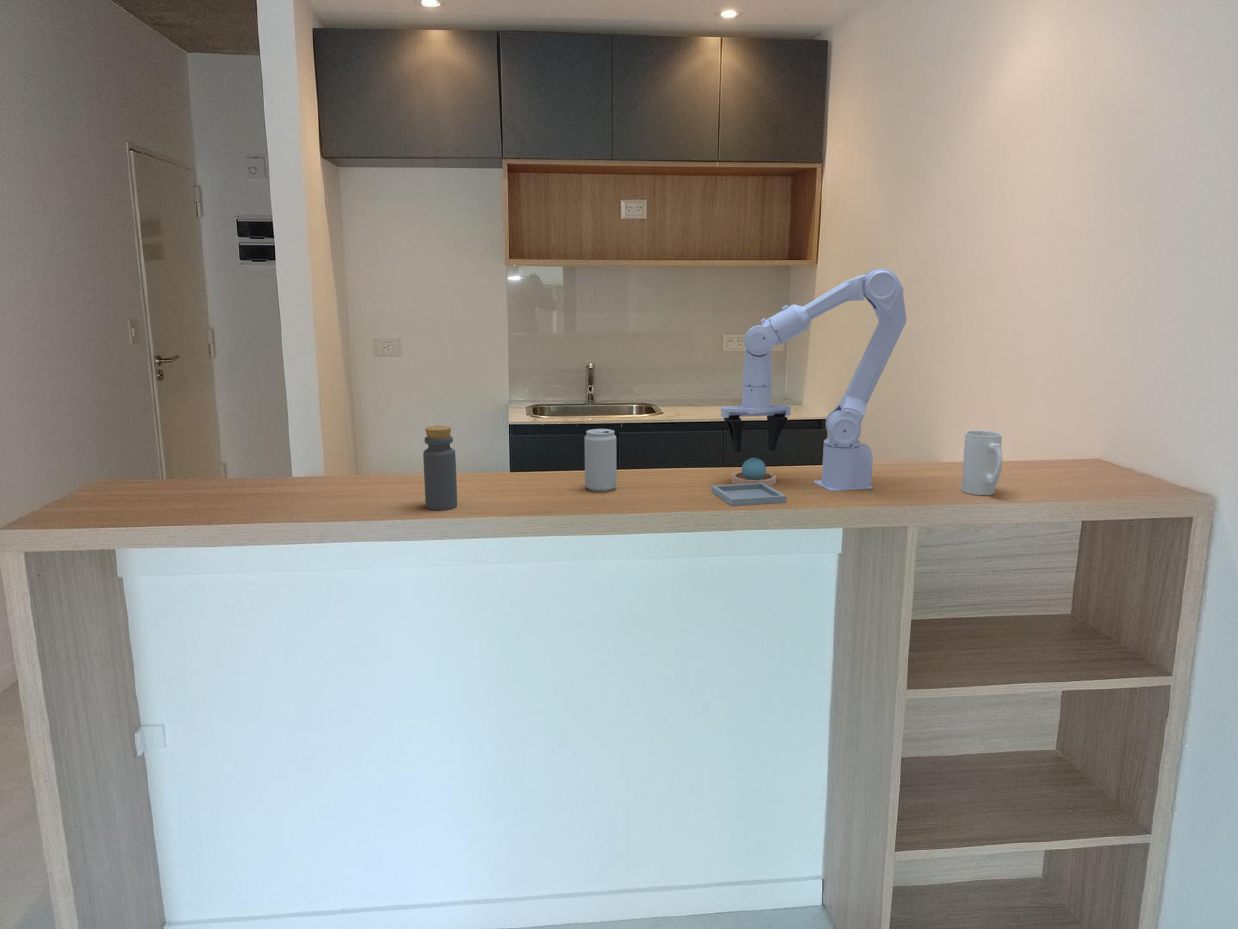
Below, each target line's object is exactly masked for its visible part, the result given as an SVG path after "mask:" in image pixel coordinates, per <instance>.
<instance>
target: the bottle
mask: <svg viewBox="0 0 1238 929" xmlns="http://www.w3.org/2000/svg"><path fill="white" fill-rule="evenodd" d="M424 429H425V430H424V431H425V434H426V437H424V444H426V445H427V448H426V449H424V450H423V457H422V458H423V460H422V461H423V479H424V480H423V481H424V494H425V495H424V498H425V507H426V509H427V510H431V511H432V510H433V511H446V510H452V509H454V508H457V507H458V489H457V488H458V486H457V458H456V449H454V448H452V447H451V444H452V443H453V442H454V438H453V436H452V435H451V432H452V427H451V426H449V425H431V426H426V427H425V428H424Z"/></svg>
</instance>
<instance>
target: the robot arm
mask: <svg viewBox="0 0 1238 929" xmlns="http://www.w3.org/2000/svg"><path fill="white" fill-rule="evenodd" d="M865 300H866V301H868V303H869V304H870V305H871V306H872V308H873V311H874V313H875V316H876V318H877V320H878V323H877V325H876V327H875V329H874V331H873V334H872V336H871V338H870V339H869V342H868V343H867V346H866V348H865V350H864V352H863V354H862V357H861V359H860V361H859V363H858V365H857V368H856V369H855V371H854V374H853V376H852V378H851V380H850V382H849V384H848V385H847V386H848V387H847V389H846V391H845V394H843V396H842V397H841V398H840V400H839V402H838V404H837V406H836V407H835V408H834V409H833V410H832V411H830V412H829V413H828V415H827V416H826V419H825V423H824V424H825V429H826V431H827V432H828V433H827V434H828V436H827V438H826V439H824V440H823V451H822V452H823V454H822V469H821V479H819V480H813V483H814V484H816V485H818V486H820V487H822V488H824V489H826V490H828V491H830V492H834V491H835V492H838V491H852V490H865V489H866V490H873V486H872V476H873V475H872V474H873V473H872V472H873V459H874V458H873V453H872V449H871V447H870V445H868V444H867V443H861V441H860V440H859V439H860V437H861V433H862V422H863V419H864V417H865V414H866V410H867V405H868V403H869V400H870V399H871V396H872V395H873V393H874V391H875V388H876V387H877V384H878V382H879V379H880V378H881V376H882V374H883V371H884V370H885V368H886V365H887V363H888V361H889V359H890V358H891V355H892V352H893V351H894V349H895V347H896V344H897V342H898V341H899V338H900V336H901V334H902V331H903V329H904V328H905V326H906V323H907V314H906V312H907V311H906V307H905V304H906V303H905V297H904V287H903V285H902V283H901V281H900V280H899V278H898V276H897V275H896V273H895V272H893V271H892V270H891V269H886V268H874V269H871V270H869V271H867V272H866V273H865V274H860V275H858V276H855V277H853V278H850V279H847V280H845V281H844V282H843V281H842V282H841V283H839V284H838V285H837V286H835V287H833V288H831V289H830V290H828V291H827V292H825V293H824V294H821V295H820V296H818V297H817V298H814V300H811V301H810V302H808V303H807V304H805V305H803V306H802V305H798V304H794V303H793V304H791V305H790V306H789V305H788V304H786V305H784V306H782V307H781V309H782V310H780V311H779V312H777V313H776V314H774V315H772V316H770V317H768V318H767V319H766V318H762V319H761V320H760V323H761V325H759V324H757V325H754V326H752V327H751V328H749V329H748V330H747V332H746V333H745V335H744V339H743V341H744V342H743V343H744V347H745V349H746V350H745V352H744V362H743V373H742V394H741V395H742V397H741V399H742V400H741V401H742V402H741V405H734V406H721V407H720V417H721V418H723V421H724V423H725V425H726V427H727V429H728V433H729V435H730V438H731V442H732V448H733V452H735V453H741V449H742V433H743V432H742V431H743V426H744V423H745V422H744V420H741V417H743V418H744V417H765V416H766V421H767V431H768V432H767V433H768V434H767V449H768V450H770V451H771V452H775V451H776V449H777V443H778V441H779V438H780V435H781V433H782V431H783V430H784V428H785V426H786V424H787V423H788V417H789V416H791V408H792V407H791V405H787V404H771V400H772V398H771V396H772V393H771V392H772V377H773V376H772V374H773V363H772V350H773V348H774V346H775V345H778V346H780V345H782V344H784V343H786V342H787V341H789V340H791V339H793V338H795V337H796V336H799V335H800V334H802V333H804V332H805V331H807V330H808V329H809V325H810V322H811V321H812V320H814V319H815V318H817V317H819V316H821V315H823V314H825V313H827V312H829V311H831V310H833V309H834V308H836V307H838V306H839V307H840V305H842V304H844V303H846V302H851V301H852V302H854V301H855V302H856V301H860V302H861V301H865Z"/></svg>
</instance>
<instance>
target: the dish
mask: <svg viewBox="0 0 1238 929" xmlns="http://www.w3.org/2000/svg"><path fill="white" fill-rule="evenodd" d="M730 482H731V483H732V484H750V483H764V484H766V485H768V486H770V487H773V486H774V485H776V483H777V476H776V475H775V474H774V473H771V472H767V471H766V473H765V476H764V477H763V478H762V479H761V480H747V479H745V477H744V476H743V474H742V470H740V471H736V472H732V473H731V476H730Z"/></svg>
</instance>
